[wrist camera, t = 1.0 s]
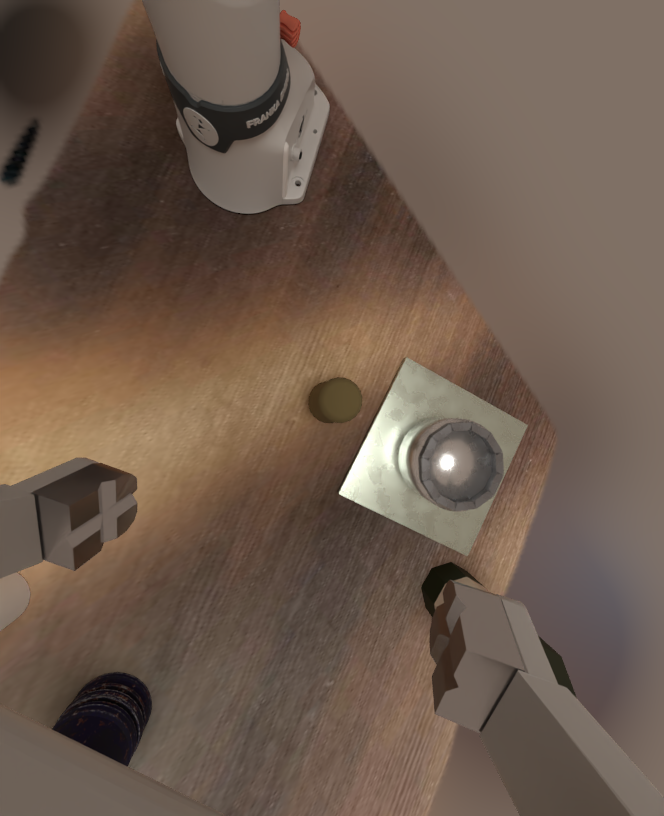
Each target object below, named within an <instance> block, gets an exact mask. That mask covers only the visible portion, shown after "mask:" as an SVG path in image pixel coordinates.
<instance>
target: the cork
mask: <svg viewBox="0 0 664 816" xmlns="http://www.w3.org/2000/svg"><path fill="white" fill-rule="evenodd" d="M308 405H309V408H310V411H311V413H312V414H313V416H314V417H315V418H317V419H318V420H319V421H322V422H324V423H333V422H337V423H344V422H347V421H350V420H351V419H353V418H354V417H355V416H356V415H357V414H358V413H359V411H360V409H361V406H362V395H361V391H360V390H359V388H358V386H357V385H356V384H355V383H354V382H352V381H351V380H349V379H346V378H334V379H331V380H329V381H326V382H323V383H320V384H318V385H317V386H315V387H314V389H313V390H312V391H311V393H310V396H309V403H308Z"/></svg>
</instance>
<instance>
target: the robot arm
mask: <svg viewBox="0 0 664 816" xmlns="http://www.w3.org/2000/svg"><path fill="white" fill-rule="evenodd" d="M142 2H143V5H144V7H145V9H146V12H147V14H148V17H149V20H150V22H151V25H152V28H153V30H154V33H155V36H156V42H157V52H158V56H159V60H160V64H161V68H162V71H163V74H164V75H165V78H166V81H167V84H168V86H169V89H170V92H171V95H172V97H173V100H174V104H175V108H176V112H177V115H178V118H177V120H176V125H177V129H178V133H179V135H180V137H181V139H182V141H183V143H184V145H185V146H186V150H187V155H188V163H189V168H190V172H191V175H192V177H193V179H194V181H195V183H196V185H197V186H198V188H199V189H200V190H201V192H202V193H203V194H204V195H205V196H206V197H207V198H208V199H209V200H211V201H212V202H213V203H215V204H216V205H218V206H220V207H222V208H224V209H226V210H229V211H232V212H236V213H244V214H252V213H259V212H263V211H266V210H268V209H270V208H273V207H275V206H277V205H281V204H297V203H300V202H302V201H303V199H304V197H305V194H306V190H307V187H308V184H309V180H310V177H311V173H312V170H313V167H314V163H315V160H316V157H317V153H318V150H319V147H320V143H321V140H322V137H323V133H324V130H325V127H326V123H327V120H328V117H329V112H330V105H329V102H328V100H327V98H326V97H325V95H324V93H323V92H322V91H321V89H320V88H319V87H318V86H317V85H316V84H315V76H314V73H313V71H312V68H311V66H310V65H309V63H308V62H307V60H306V59H305V58H304V57H303V56H302V55H301V54H300V53H299V52H298V51H297V50H296V49H295V48H294V47H295V46H296V45H297V42H298V40H299V35H300V29H301V26H300V24H301V23H300V21H299V20H298V19H297V18H295V17H292V16H290V15H288V14H287V13H286V11H285V10H282V11H281V13H280V7H279V6H280V2H279V0H142ZM284 40H285V41H284ZM296 184H299V185H300V186H299V187H298V186H296ZM136 490H137V478H136V477H135V476H133V475H132V474H130V473H127V472H125V471H122V470H119V469H116V468H114V467H111V466H108V465H105V464H103V463H98V462H96V461H93V460H90V459H88V458H75V459H73V460H70V461H68V462H66V463H63V464H61V465H59V466H56V467H54V468H52V469H49V470H47V471H45V472H42V473H40V474H38V475H35V476H33V477H31V478H28V479H26V480H24V481H21V482H19V483H17V484H14V485H12V486H9V485H6V484H4V485H0V578H3V577H6V576H8V575H11V574H13V573H16V572H18V571H21V570H23V569H26V568H28V567H31V566H34V565H36V564H39V563H41V562H43V560H45V561H48V562H51V563H54V564H56V565H59V566H62V567H65V568H68V569H71V570H73V571H75V570H77V569H78V568H79V567H80V566H82V565H83V564H84V563H86V562H87V561H88V560H90V559H91V558H92V557H93V556H95V555H96V554H97V553H99V552H100V551H101V549H102V546H103V543H104V542H107V541H110V540H113V539H116V538H118V537H119V536H120V535H122V534H123V533H124V532H125V531H127V529H128V528H129V527H130V525H131V524H132V522H133V521H134V519H135V516H136V513H137V502H136V500H135V498H134V496H133V495H132V494H133V493H134V492H135V491H136ZM443 599H444V603H443V604H441V605H439V606H437V607H436V609H435V612H434V615H433V617H432V623H431V628H430V654H431V656H432V658H433V659H434V661H435V663H436V664H437V666H436V668H435V670H434V673H433V675H432V684H433V697H434V709H435V714H436V715H438V716H441V717H443V718H445V719H448V720H450V721H452V722H455V723H457V724H459V725H462V726H464V727H466V728H469V729H471V730H474V731H476V732H478V733H480V738H481V740H482V742H483V744H484V746H485V748H486V750H487V752H488V754H489V756H490V758H491V760H492V762H493V764H494V766H495V768H496V770H497V772H498V774H499V776H500V778H501V780H502V782H503V783H504V786H505V787H506V789H507V791H508V793H509V795H510V797H511V799H512V801H513V803H514V805H515V807H516V809H517V811H518V813H519V815H520V816H664V797H663V796H662V794H661V793H660V792H659V791H658V790H657V789H656V787H655V786H654V785H653V784H652V783H651V782H650V781H649V780H648V778H647V777H646V776H645V775H644V774H643V773H642V772H641V771H640V770H639V768H638V767H637V766H636V765H635V764H634V763H633V762H632V760H631V759H630V758H629V757H628V756H627V755H626V754H625V753H624V752H623V750H622V749H621V748H620V747H619V746H618V745H617V744H616V742H615V741H614V740H613V739H612V738H611V737H610V736H609V735H608V733H607V732H606V731H605V730H604V729H603V728H602V727H601V726H600V724H599V723H598V722H597V721H596V720H595V719H594V718H593V717H592V715H591V714H590V713H589V712H588V711H587V710H586V709H585V707H584V706H583V705H582V704H581V703H580V702H579V701H578V700H577V698H576V697H575V696H574V695H573V694H572V693H571V692H570V691H569V689H568V688H566V687H564V686H561V685H558V683H557V680H556V678H555V675H554V673H553V671H552V668H551V666H550V664H549V661H548V659H547V656H546V654H545V652H544V649H543V647H542V645H541V642H540V640H539V637H538V635H537V633H536V630H535V628H534V626H533V623H532V621H531V618H530V616H529V614H528V611H527V609H526V607H525V606H524V605H523V603H522V602H520V601H517V600H513V599H510V598H507V597H504V596H501V595H495V594H493V593H490V592H487V591H484V590H481V589H477V588H474V587H471V586H468V585H465V584H462V583H459V582H456V581H453V580H449V581H448V582H447V584H446V586H445V588H444V590H443ZM0 816H226V815H224V814H222V813H220V812H218V811H216V810H214V809H212V808H210V807H208V806H206V805H204V804H202V803H200V802H198V801H196V800H194V799H192V798H190V797H188V796H186V795H184V794H182V793H180V792H178V791H176V790H174V789H172V788H170V787H168V786H166V785H164V784H162V783H160V782H158V781H156V780H153V779H151V778H149V777H147V776H145V775H143V774H141V773H139V772H137V771H135V770H133V769H131V768H129V767H127V766H125V765H123V764H121V763H119V762H117V761H115V760H113V759H111V758H109V757H107V756H105V755H103V754H101V753H99V752H97V751H95V750H93V749H91V748H89V747H87V746H85V745H82V744H80V743H78V742H76V741H74V740H72V739H70V738H68V737H66V736H64V735H62V734H60V733H58V732H56V731H54V730H52V729H50V728H48V727H46V726H44V725H42V724H40V723H38V722H36V721H34V720H32V719H30V718H28V717H26V716H24V715H22V714H20V713H18V712H16V711H14V710H12V709H9V708H7V707H5V706H3V705H1V704H0Z"/></svg>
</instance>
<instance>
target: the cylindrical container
mask: <svg viewBox="0 0 664 816" xmlns="http://www.w3.org/2000/svg"><path fill="white" fill-rule="evenodd" d="M29 600H30V589H29V586H28V584H27V582H26V580H25V579H24V578H23V577H22V576H21V575H20V574H18V573H17V572H16V573H13V574H11V575H8V576H6V577H3V578H0V631H1V630H3V629H4V628H5V627H7V626H8V625H9V624H11V623H12V622H13V621H14V620H16V619H17V618H18V617H19V616H20V615H22V613H23V612H24V611H25V609H26V608H27V606H28V604H29Z"/></svg>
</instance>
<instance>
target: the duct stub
mask: <svg viewBox="0 0 664 816" xmlns="http://www.w3.org/2000/svg"><path fill="white" fill-rule="evenodd" d="M527 426H528V425H526V424H525V423H523V422H521V421H519V420H518V419H516V418H514V417H512V416H510V415H509V414H507V413H505V412H503V411H502V410H500V409H498V408H496V407H494V406H493V405H491V404H489V403H487V402H485V401H484V400H482V399H480V398H478V397H477V396H475V395H473V394H471V393H469V392H468V391H466V390H464V389H462V388H460V387H459V386H457V385H455V384H453V383H452V382H450V381H448V380H446V379H444V378H443V377H441V376H439V375H437V374H435V373H434V372H432V371H430V370H428V369H427V368H425V367H423V366H421V365H419V364H418V363H416V362H414V361H412V360H411V359H409V358H407V357H406V358H404V359H403V361H402V363H401V365H400V367H399V370H398V372H397V374H396V376H395V378H394V380H393V382H392V384H391V386H390V388H389V390H388V392H387V394H386V396H385V398H384V400H383V402H382V404H381V406H380V408H379V410H378V412H377V414H376V416H375V418H374V420H373V422H372V424H371V426H370V428H369V430H368V432H367V434H366V436H365V438H364V440H363V442H362V444H361V446H360V448H359V450H358V452H357V454H356V456H355V458H354V460H353V462H352V464H351V466H350V468H349V470H348V472H347V474H346V476H345V478H344V480H343V482H342V484H341V486H340V488H339V490H338V494H340V495H342V496H344V497H346V498H348V499H350V500H352V501H354V502H356V503H358V504H361V505H363V506H365V507H367V508H369V509H371V510H373V511H375V512H377V513H379V514H381V515H383V516H385V517H387V518H389V519H392V520H394V521H396V522H398V523H400V524H402V525H404V526H406V527H408V528H410V529H412V530H414V531H416V532H418V533H420V534H423V535H425V536H427V537H429V538H431V539H433V540H435V541H437V542H439V543H441V544H443V545H445V546H447V547H449V548H451V549H453V550H456V551H458V552H460V553H462V554H464V555H466V556H468V554H469V552H470V550H471V548H472V545H473V543H474V541H475V539H476V537H477V535H478V532H479V530H480V528H481V526H482V524H483V522H484V519H485V517H486V515H487V513H488V511H489V508H490V506H491V504H492V502H493V500H494V498H495V495H496V493H497V491H498V489H499V487H500V485H501V482H502V480H503V478H504V476H505V474H506V472H507V469H508V467H509V465H510V463H511V461H512V458H513V456H514V454H515V452H516V450H517V448H518V445H519V443H520V441H521V439H522V437H523V435H524V432H525V430H526V428H527Z"/></svg>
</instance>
